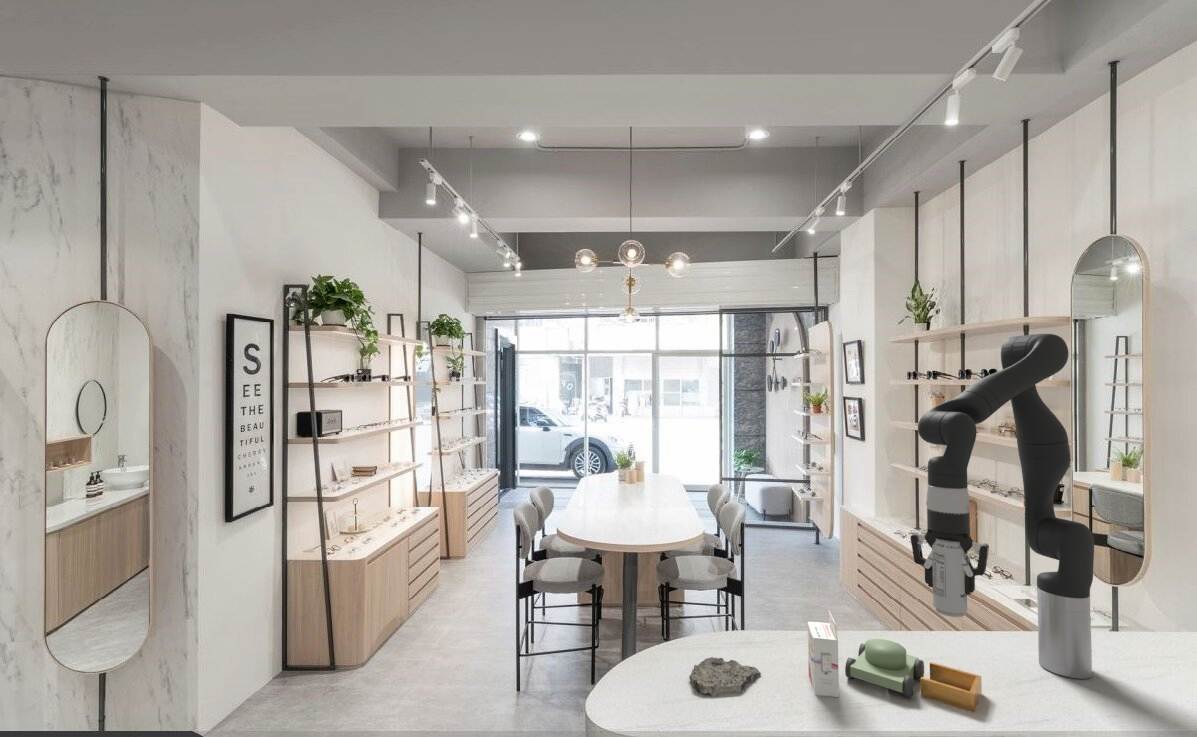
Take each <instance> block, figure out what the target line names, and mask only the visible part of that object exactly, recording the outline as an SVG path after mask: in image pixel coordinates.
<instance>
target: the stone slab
mask: <svg viewBox="0 0 1197 737" xmlns="http://www.w3.org/2000/svg"><path fill="white" fill-rule="evenodd" d="M760 677H761V671H759V669H758V668H757V667H755V666H750V665H742V664H741V663H739V662H738V661H736V660H733V659H730V660H729V661H726V660H724V658H723V657H707V658H704V660H702V661H701V662H700V663H699V664H694V665H693V669H692V671H691V674H690V675H689V681H690V683H691V684H692V686H693V688H694V689H695V690H696V692H698V693H700V694H701V693H702V694H706V695H709V696H710V697H717V696H719V695H721V694H731V693H741V692H742V691H743V690H744V688H745V685H746V684H748V683H749V682H750V681H751V682H755V681H756V679H757V678H760Z"/></svg>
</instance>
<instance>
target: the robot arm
mask: <svg viewBox="0 0 1197 737" xmlns="http://www.w3.org/2000/svg"><path fill="white" fill-rule="evenodd" d="M1068 359H1069V347H1068V345H1067V342H1066V341H1065V339H1064V338H1062V336H1060V335H1057V334H1054V333H1053V334H1052V333H1038V334H1037V333H1035V334H1025V335H1016V336H1010V337H1007V338H1006V339H1005V340H1004V341H1003V343H1002V345H1001V348H1000V363H1001V368H1002V369H1001V370H999V371H996V372H994V373H991V374H989V375H986V376H984V377H982V378H981V379H978V380H976V381H975V382H973V383H971V385H969V386H968V387H967V388H965V389H964V390H963V391H962V392H961V393H960V394H958V395H957V396H956V397H954V398H952V399H948V400H947V401H945V402H942V403H940V404H938V405H936V406H933V407H931V408H930V409H928V410H927V411H926V412H925V413H924V414H923V415H922V416H921V417H920V419H919V421H918V424H917V432H918V435H919V436H920V439H922V440H923V441H924V442H926V443H929V444H931V445H938V446H939V445H940V446H945V447H946V448H945V450H944V453H943V455H939V456H933V457H931V458H930V459H929V460H927V491H926V502H925V503H926V520H927V521H926V523H927V524H926V527H927V529H926V533H925V534H923V533H921V534H919V533H918V532H914V533H913V534H911V535H910V542H911V550H912V555H913V562H914V563H915V564H916V565H920V566H922V567H923V568H924V581H925V584H927V585H928V587H929V588H933V581H932V563H933V549H932V545H933V544H934V542H935V541H936V538H937V539H943V540H949V541H956V542H960V546H961V547H962V549H963V550H964V554H966V559H965V558H964V556H963V555H962V565H963V566H964V571H965V573H966V576H965V591H966V594H967V596H971V594H972V593H974V592H975V589H976V576H984V575H985V573H986V570H987V565H988V564H987V563H988V558H989V551H990V546H989V544H988V543H978V542H976V541H973V538H972V537H971V527H970V526H971V525H970V524H971V520H970V519H971V517H970V516H971V515H970V512H971V511H970V496H969V491H968V490H969V488H968V483H969V482H968V466H969V463H970V459H971V456H972V452H973V449H974V445H975V442H976V439H977V431H978V430H977V426H976V425H978V424H979V425H980V424H981V423H983V422H984V421H986V420H988V418H990V417H991V416H992V415H994V414H995V413H996V412H997V411H998V410H999V409H1000V408H1002V407H1003V406H1004V405H1005V404H1007V403H1008V402H1009V401H1011V402H1010V403H1011V408H1012V413H1013V420H1014V421H1013V422H1014V425H1015V434H1016V443H1017V451H1018V456H1019V463H1020V467H1021V476H1022V483H1023V484H1022V485H1023V494H1024V518H1025V519H1024V524H1025V525H1024V526H1025V528H1024V529H1025V536H1026V540H1027V541H1026V542H1027V544H1028V545H1029V547H1030V549H1031V550H1032V551H1033V552H1034V553H1036V554H1037V555H1040V556H1043V557H1046V558H1050V559H1052V560H1057V561H1058V568H1057V571H1044V572H1040V573H1038V574H1037V576H1036V597H1037V598H1036V599H1037V600H1036V601H1037V602H1036V603H1037V631H1038V632H1037V635H1038V636H1037V637H1038V638H1037V640H1038V644H1037V646H1038V648H1037V649H1038V664H1039V666H1041V667H1042V668H1043V669H1045V670H1047V671H1049V672H1052V673H1054V674H1056V675H1059V676H1062V677H1066V678H1072V679H1081V680H1082V679H1083V680H1086V679H1090V678H1092V677H1093V660H1092V657H1093V655H1092V652H1093V650H1092V626H1091V625H1092V619H1091V617H1092V616H1091V589H1092V588H1091V587H1092V583H1093V580H1094V561H1095V559H1094V558H1095V541H1094V536H1093V533H1092V531H1091V529H1090V528H1089V527H1088V526H1087V525H1085V524H1084V523H1081V522H1078V521H1073V520H1068V519H1064V518H1060V517H1056V514H1055V510H1054V509H1055V507H1054V505H1055V504H1054V498H1055V492H1056V490H1057V488H1058V486H1059V484H1060V483H1061V481H1062V480H1063V478H1064V477H1065V475H1066V473H1067V471H1068V469H1069V468H1070V465H1071V460H1072V459H1071V458H1072V457H1071V450H1070V443H1069V437H1068V433H1067V430H1066V428H1065V427H1064V425H1063V424H1062V422H1061V421H1060V420H1059V419H1058V417H1057V416H1056V415H1055V414H1054V412H1053V411H1052V410H1051V409H1050V408H1049V407H1048V406H1047V405H1046V403H1045V402H1044V401H1043V400H1042V398H1041V395H1039V392H1038V389H1037V386H1036V385H1037V384H1039V383H1041V382H1042V381H1044V380H1046V379H1047V378H1050V377H1052V376H1054V375H1056V374H1058V373H1059V372H1060V371H1062V370H1063V368H1064V367H1065V366H1066V364H1067V362H1068ZM924 541H926V543H927V544H928V545H929V546H930V548H931V551H930V553H929V555H928V557H927V558H925V557H924V555H923V551H922V545H923V544H924ZM938 542H939V541H937V542H936V544H937V543H938ZM936 544H935V545H936ZM955 545H956V547H957V548H958V546H957V544H955ZM958 549H959V548H958ZM971 549H973V550H974V553H975V554H976V555H978V561H977V567H974V566H973V564H972V563H971V560H970V557H969V555H968V554H967V553H968V552H969V550H971ZM961 554H962V553H961Z"/></svg>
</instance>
